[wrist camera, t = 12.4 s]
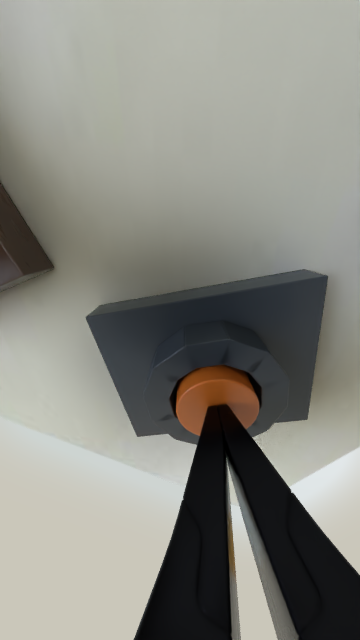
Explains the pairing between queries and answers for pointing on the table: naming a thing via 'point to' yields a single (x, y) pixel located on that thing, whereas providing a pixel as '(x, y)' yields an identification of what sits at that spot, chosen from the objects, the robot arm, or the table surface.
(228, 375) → the button
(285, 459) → the table surface
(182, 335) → the button housing
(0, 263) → the base
